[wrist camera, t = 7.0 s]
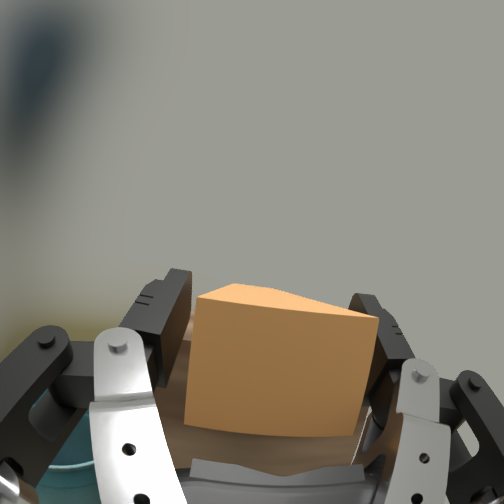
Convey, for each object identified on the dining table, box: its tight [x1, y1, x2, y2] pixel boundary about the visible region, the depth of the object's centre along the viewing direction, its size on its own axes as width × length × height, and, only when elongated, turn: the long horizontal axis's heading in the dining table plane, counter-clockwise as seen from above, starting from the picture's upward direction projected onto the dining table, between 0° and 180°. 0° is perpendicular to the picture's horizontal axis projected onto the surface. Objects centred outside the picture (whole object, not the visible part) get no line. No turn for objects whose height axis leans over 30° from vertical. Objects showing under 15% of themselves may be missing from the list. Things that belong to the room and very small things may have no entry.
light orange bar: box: [184, 283, 379, 437], centre depth 17 cm, size 23×4×3 cm, turn 2°
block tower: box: [153, 310, 369, 477], centre depth 18 cm, size 12×14×32 cm
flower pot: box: [29, 389, 102, 504], centre depth 20 cm, size 18×18×17 cm
